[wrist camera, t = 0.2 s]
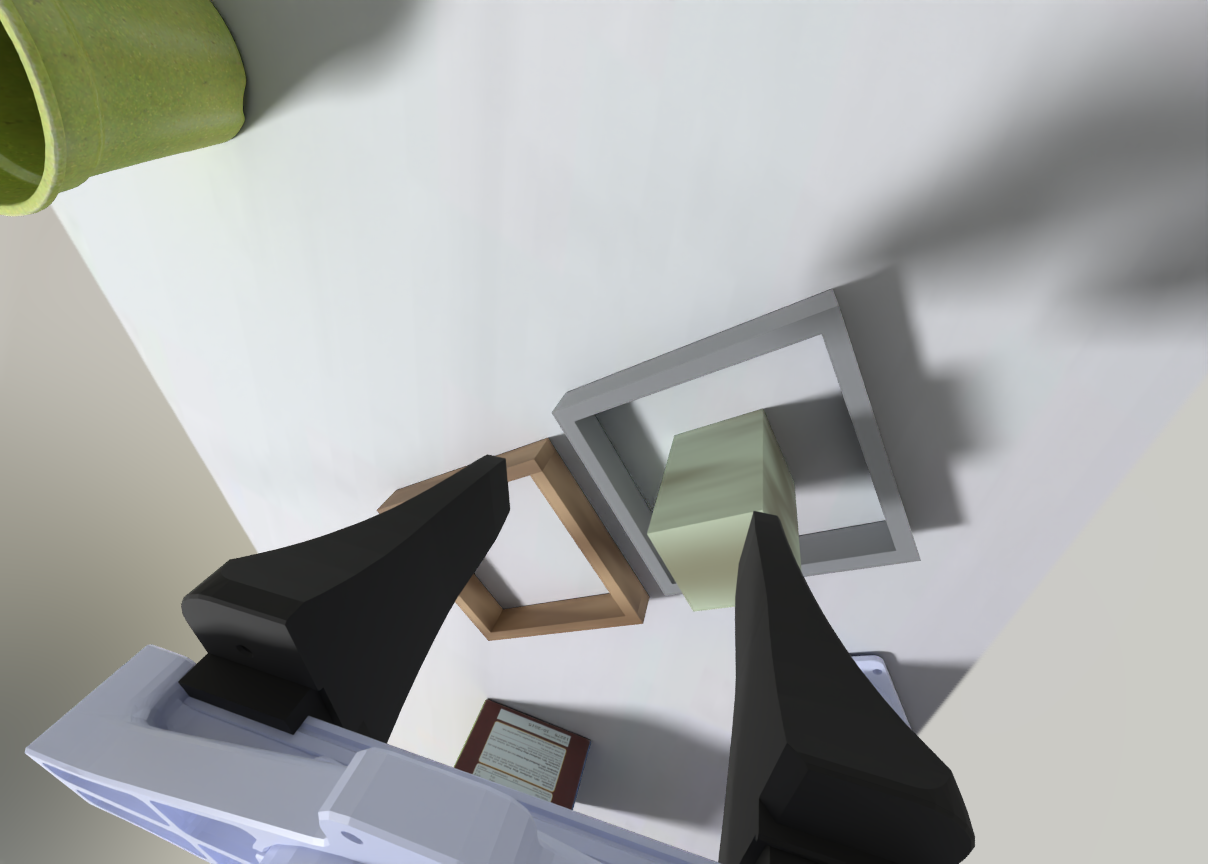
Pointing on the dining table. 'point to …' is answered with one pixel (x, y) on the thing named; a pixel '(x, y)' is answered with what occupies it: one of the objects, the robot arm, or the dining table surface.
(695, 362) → the charcoal bin
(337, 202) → the dining table surface
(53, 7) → the plant pot
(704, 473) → the sage block
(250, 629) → the robot arm
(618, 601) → the brown wooden square frame
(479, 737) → the protein box
